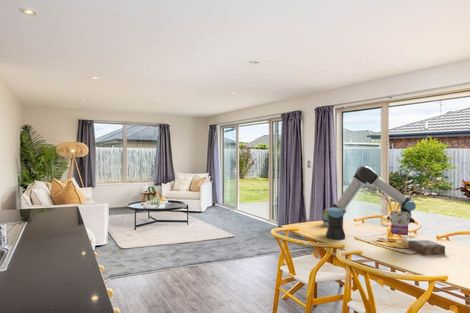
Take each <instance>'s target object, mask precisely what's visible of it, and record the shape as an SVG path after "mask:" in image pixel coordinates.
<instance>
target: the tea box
mask: <svg viewBox="0 0 470 313" xmlns="http://www.w3.org/2000/svg"><path fill="white" fill-rule="evenodd" d="M328 210H329V208H326V209H323V212H322V213H323V215H322V218H323V219H322V220H323V221H322V222H323V223H322V225H323V226H327V227H328Z"/></svg>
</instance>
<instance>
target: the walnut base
mask: <svg viewBox="0 0 470 313" xmlns="http://www.w3.org/2000/svg"><path fill="white" fill-rule="evenodd" d="M407 243H408V244H407V245H408V246H407V249H408V250H410V251H413V252H414V253H417V254H420V255H422V256H437V255H438V256H440V255H446V246H445V245H444V244H443V245H442V244H441V243H440V244H439V243H437V242H434V241H431V240H429V239H428V240H427V239H426V240H425V239H424V240H423V239H422V240H421V239H419V240H408V242H407Z"/></svg>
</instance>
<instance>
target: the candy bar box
mask: <svg viewBox="0 0 470 313" xmlns="http://www.w3.org/2000/svg"><path fill="white" fill-rule="evenodd" d="M391 216H392V221H391V222H390V223H391V226H390V228H391V231H390V233H391V235H399V236H408V235H409V224H407V221H408V212H400V211H393V210H392V211H391Z"/></svg>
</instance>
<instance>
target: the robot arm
mask: <svg viewBox="0 0 470 313" xmlns="http://www.w3.org/2000/svg"><path fill="white" fill-rule="evenodd" d="M352 178H353V180H352V181H351V183H350V184H349V185H348V187H347V188H346V189H345V190H344V192H343V194H342V195H341V196H340V198H339V199H338V201H337V202H334V203H333V204H332V206H331V207H330V208H328V209H329V210H328V226H327V230H326V233H325V237H326V239H331V240H336V241H337V240H344V239H346V233H345V230H344V215H345V213H347V207H348V206H349V204H350V203H351V202H352V201H353V200H354V198H355V197H356V195H357V193H358V192H359V191H360V190H361V188H362V187H363V186H365V185H367V184H369V185H371V186H374V187H375V188H377V189H378V190H379V191H380V192H383V193H384V194H385V195H387V197H389V198H390V199H392V200H393V201H395V202H396V203H398V204H399V205H400V209H401V211H399V212H408V221H407V224H408V225H410V224H415V222H416V221H415V219H414V217H412V211H414V210H415V209H416V207H417V206H416V203H415V201H413V200H412V197H411V196H410V195H404V194H403V193H401V192H400V191H399V190H398V189H396V188H395V187H393V185H390V184H389V183H388V182H387V181H385V180H384V179H382V178H381V177H380V175H379V174H378V173H377V172H376V171H374V170H373V169H372V168H371V167H369V166H367V165H361V166H359V167H358V168H357V170H356V172H355V173H354V175H353V176H352ZM387 221H389V223H391V221H392V215H389V216H387Z"/></svg>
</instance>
